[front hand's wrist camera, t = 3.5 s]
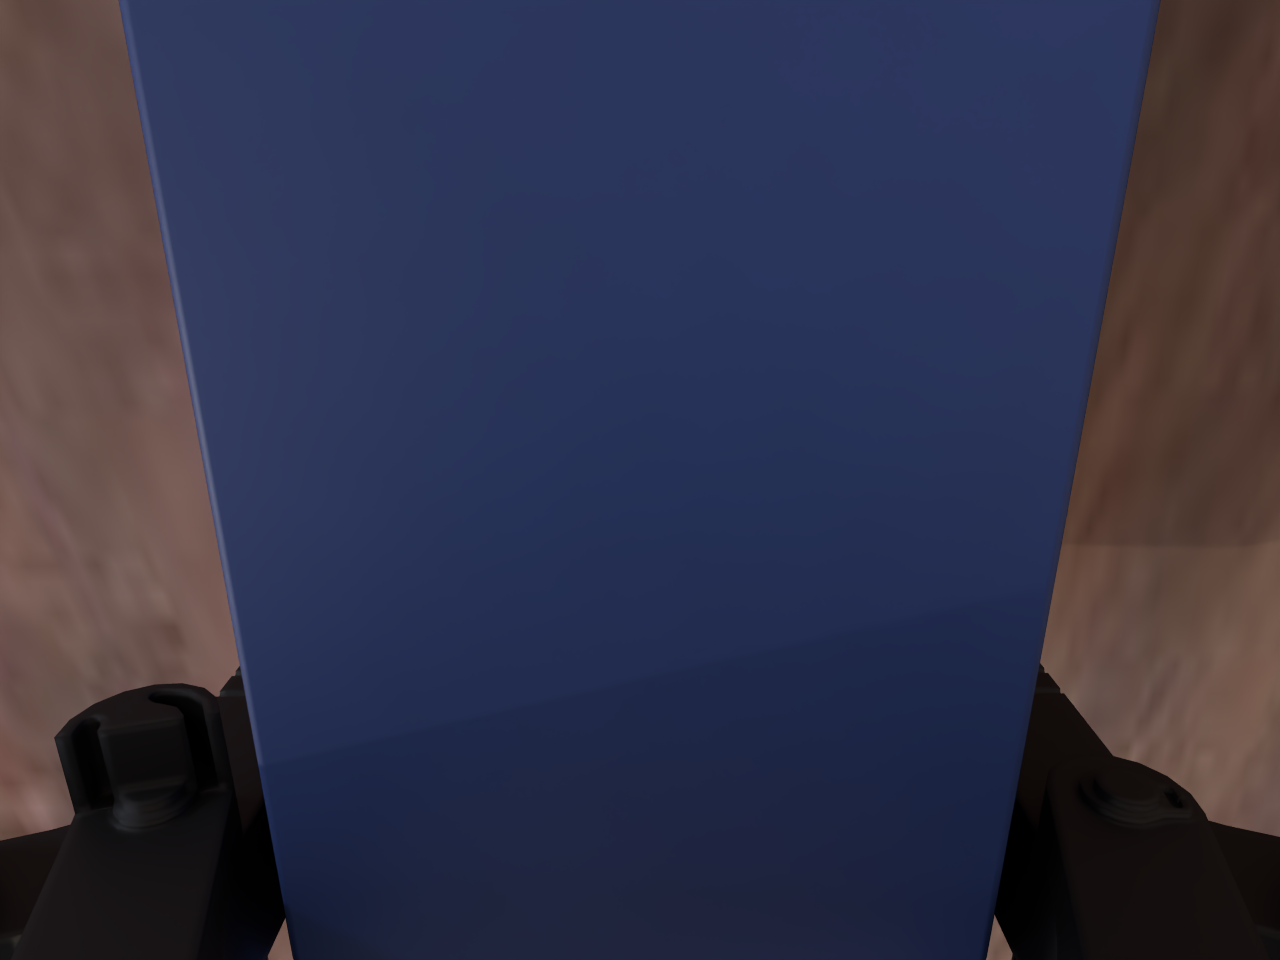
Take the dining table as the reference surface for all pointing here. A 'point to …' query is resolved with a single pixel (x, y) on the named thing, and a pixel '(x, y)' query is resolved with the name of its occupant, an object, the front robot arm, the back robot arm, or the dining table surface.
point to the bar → (639, 447)
